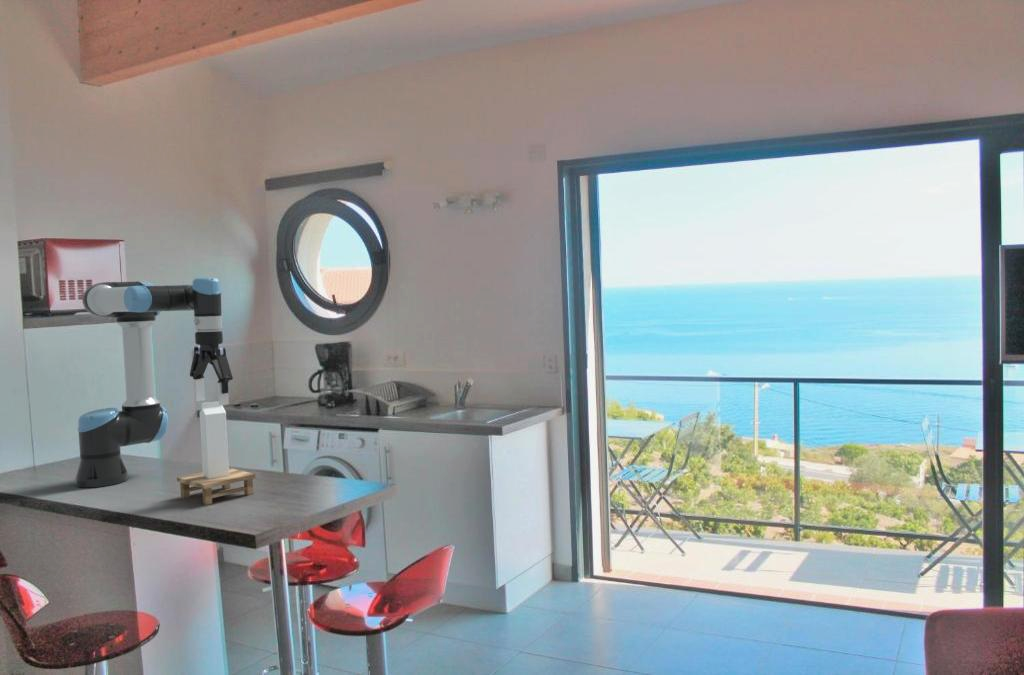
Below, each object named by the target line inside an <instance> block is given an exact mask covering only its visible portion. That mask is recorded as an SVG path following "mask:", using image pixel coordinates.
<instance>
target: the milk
mask: <svg viewBox="0 0 1024 675" xmlns="http://www.w3.org/2000/svg"><path fill="white" fill-rule="evenodd" d="M227 423H228V422H227V411H226V409H225V408H224V405H219V400H218V401H217V400H216V401H207V402H202V403H201V409H200V411H199V430H200V448H201V464H202V466H201V467H202V468H201V469H202V472H203V476H204V477H206V478H208V479H212V478H218V477H225V476H229V468H230V464H229V443H228V428H227Z"/></svg>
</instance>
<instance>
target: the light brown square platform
mask: <svg viewBox="0 0 1024 675" xmlns="http://www.w3.org/2000/svg"><path fill="white" fill-rule="evenodd" d="M254 479H256V474H255V473H253V472H249V471H244V470H239V469H235V468H233V467H229V476H225V477H218V478H212V479H208V478H206V477H204V476H203V471H202V472H198V473H193V474H188V475H182V476H178V477H176V482H178V483H179V485H180V497H181V498H182V499H187V498H190V497H191V494H190V492H194V491H199V490H202V504H203V505H205V506H209V505H213V499H215V498H218V497H222V496H227V495H231V494H236V493H240V492H244V493H243V494H244V495H246V496H250V495H252V496H253V494H254V482H253V480H254ZM238 482H239V483H240V482H243V486H240V487H236V488H232V489H231V484H234V483H238ZM216 487H221V489H223V490H222V491H218V492H215V493H213V492H212V488H216Z"/></svg>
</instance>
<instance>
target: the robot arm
mask: <svg viewBox="0 0 1024 675" xmlns="http://www.w3.org/2000/svg"><path fill="white" fill-rule="evenodd" d="M220 282H221V281H220V280H219V278H217V277H197V278H194V279H193V280H192V284H182V285H181V284H180V285H179V284H178V285H177V284H176V285H154V284H153V283H152V282H148V281H139V280H137V281H102V282H98V283H95V284H92V285H90V286H89V287H88V288H86V289H85V290H84V292H83V294H82V300H81V301H82V305H83V307H84V309H85V310H86V311H87V313H89V314H91V315H93V316H96V317H99V318H107V319H109V318H112V319H113V318H114V319H115V318H116V324H117V325H119V326H120V327H121V332H122V345H123V346H122V347H123V363H124V364H123V365H124V366H123V367H124V380H125V381H124V382H125V395H126V396H125V397H126V399H125V401H124V402H123V403H122V404H121V410H120V411H119V409H118V408H117V407H105V408H100V409H95V410H91V411H87V412H85V413H83V414H82V415H80V416H79V418H78V422H77V423H78V426H77V427H78V428H77V432H78V441H79V442H78V444H79V445H78V446H79V460H80V461H79V465H78V468H77V471H76V476H75V478H74V479H75V480H74V481H75V486H76V487H78V488H99V487H108V486H112V485H117V484H121V483H123V482H126V481H128V479H129V474H128V473H129V472H128V469H127V467H126V466H125V463H124V461H123V458H122V455H121V454H122V452H121V447H128V446H133V445H135V446H136V445H139V444H149V443H151V442H156V441H160V440H161V439H162V438H164V436H165V434H166V433H167V430H168V427H169V426H168V425H169V416H168V412H167V409H166V408H165V406H162V405H161V403H160V402H161V401H160V400H159V399H157V398H156V396H155V383H154V381H155V380H154V366H153V365H154V363H153V350H152V348H153V346H152V332H151V330H152V329H151V327H152V325H153V324H154V323H155V322H156V317H157V316H159V315H160V314H161V312H175V311H176V312H177V311H179V312H180V311H181V312H183V311H185V312H186V311H193V313H194V314H193V315H194V320H193V323H194V329H195V330H196V332H195V333H194V338H195V339H194V340H195V342H194V343H195V344H196V345H197V346H194V347H193V356H192V362H191V366H190V371H189V376H190V378H191V377H192V379H193V380H194V382H193V383H194V397H195V398H194V399H195V400H194V401H195V402H202V401H206V390H205V376H204V374H205V372H206V370H207V368H208V364H210V365H211V366H212V368H213V369H214V372H215V374H216V376H217V379H218V380H217V393H218V394H217V396H218V397H217V398H218V401H219V405H223V406H224V405H230V402H229V401H230V399H229V398H230V397H229V382H230V381H232V380H233V378H234V377H233V374H232V370H231V368H230V364H229V361H228V358H227V353H226V352H227V351H226V348H225V347H220V346H219V345H221V344H223V342H224V338H223V335H224V334H223V331H222V329H223V316H222V289H221V283H220Z"/></svg>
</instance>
